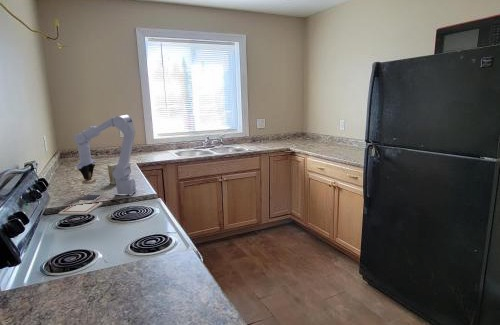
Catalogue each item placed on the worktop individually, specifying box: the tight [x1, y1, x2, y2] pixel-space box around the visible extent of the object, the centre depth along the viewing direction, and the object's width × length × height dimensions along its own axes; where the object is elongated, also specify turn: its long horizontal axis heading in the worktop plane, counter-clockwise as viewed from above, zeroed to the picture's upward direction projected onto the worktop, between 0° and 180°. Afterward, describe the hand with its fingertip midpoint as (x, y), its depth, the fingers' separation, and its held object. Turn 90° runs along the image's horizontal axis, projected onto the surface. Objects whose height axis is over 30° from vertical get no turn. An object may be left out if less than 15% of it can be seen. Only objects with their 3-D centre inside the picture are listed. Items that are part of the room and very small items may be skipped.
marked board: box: [57, 201, 103, 216], centre depth 152 cm, size 14×14×1 cm
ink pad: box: [79, 194, 103, 200], centre depth 165 cm, size 8×8×2 cm
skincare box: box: [107, 162, 118, 185], centre depth 193 cm, size 6×4×12 cm
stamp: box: [81, 171, 97, 185], centre depth 173 cm, size 5×5×6 cm
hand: (88, 178), depth 173 cm, fingers closed on stamp, 3 cm apart
